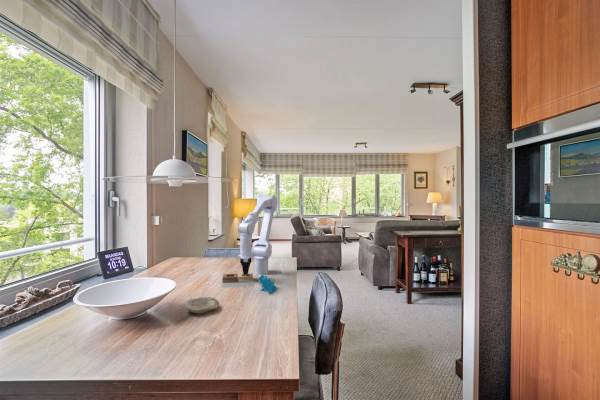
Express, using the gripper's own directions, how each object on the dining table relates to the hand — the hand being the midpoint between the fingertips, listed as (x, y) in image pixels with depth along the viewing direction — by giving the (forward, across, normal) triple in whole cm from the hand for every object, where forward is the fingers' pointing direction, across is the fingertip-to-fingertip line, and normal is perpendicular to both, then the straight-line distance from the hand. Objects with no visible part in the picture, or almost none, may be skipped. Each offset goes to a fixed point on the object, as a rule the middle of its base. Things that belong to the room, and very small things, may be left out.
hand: (245, 273), depth 150 cm
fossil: (+4, +36, -16) cm, 39 cm away
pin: (+3, 0, 0) cm, 3 cm away
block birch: (+3, 0, 0) cm, 3 cm away
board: (+4, +3, -4) cm, 6 cm away
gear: (+4, +19, +10) cm, 22 cm away
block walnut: (+3, 0, -8) cm, 8 cm away
